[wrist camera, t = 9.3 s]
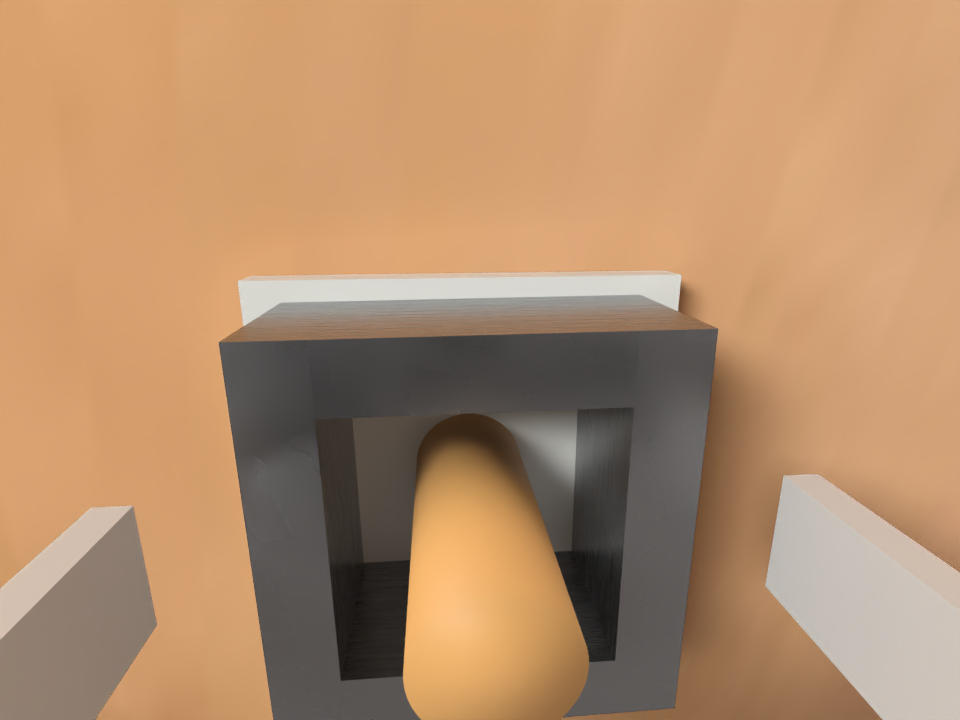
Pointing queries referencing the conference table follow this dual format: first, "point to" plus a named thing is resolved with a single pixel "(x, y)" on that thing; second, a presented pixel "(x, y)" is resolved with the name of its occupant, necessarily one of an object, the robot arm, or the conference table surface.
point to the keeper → (473, 511)
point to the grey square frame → (464, 390)
